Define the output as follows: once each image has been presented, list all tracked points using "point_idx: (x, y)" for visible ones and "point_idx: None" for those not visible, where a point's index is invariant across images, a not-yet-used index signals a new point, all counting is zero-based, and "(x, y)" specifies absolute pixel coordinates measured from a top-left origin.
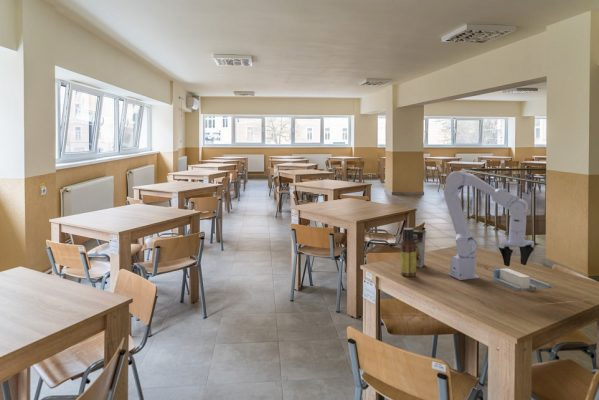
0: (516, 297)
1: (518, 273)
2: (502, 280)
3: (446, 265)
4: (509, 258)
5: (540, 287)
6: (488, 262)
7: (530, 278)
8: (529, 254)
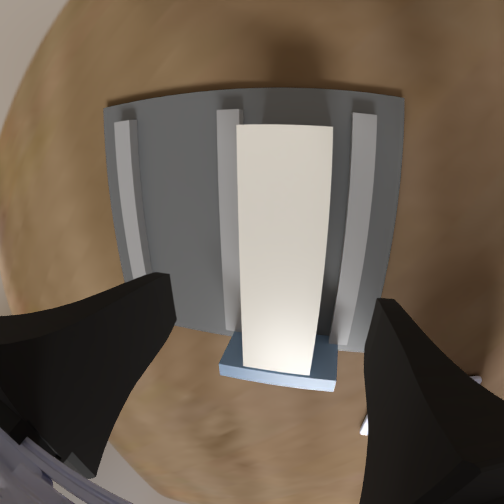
0: (461, 38)
1: (266, 241)
2: (344, 289)
3: (342, 481)
4: (424, 353)
5: (179, 121)
6: (178, 450)
7: (143, 259)
8: (53, 313)
